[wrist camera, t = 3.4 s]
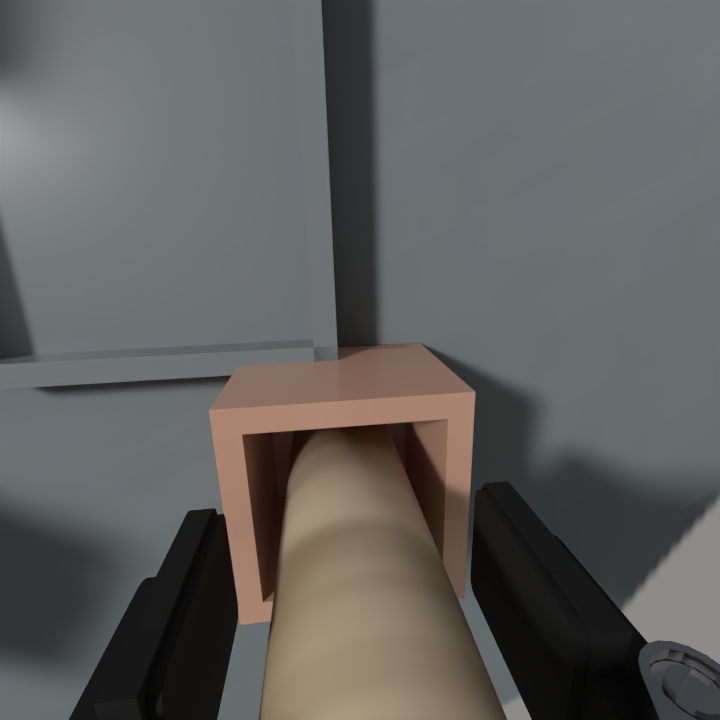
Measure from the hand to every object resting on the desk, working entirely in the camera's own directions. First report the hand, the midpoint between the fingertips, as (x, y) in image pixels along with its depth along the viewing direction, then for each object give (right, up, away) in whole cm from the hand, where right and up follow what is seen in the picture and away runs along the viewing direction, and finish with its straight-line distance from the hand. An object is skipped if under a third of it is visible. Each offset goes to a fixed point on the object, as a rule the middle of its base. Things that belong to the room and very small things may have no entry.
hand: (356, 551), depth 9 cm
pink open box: (-1, +2, +7) cm, 7 cm away
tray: (-7, +11, +3) cm, 14 cm away
